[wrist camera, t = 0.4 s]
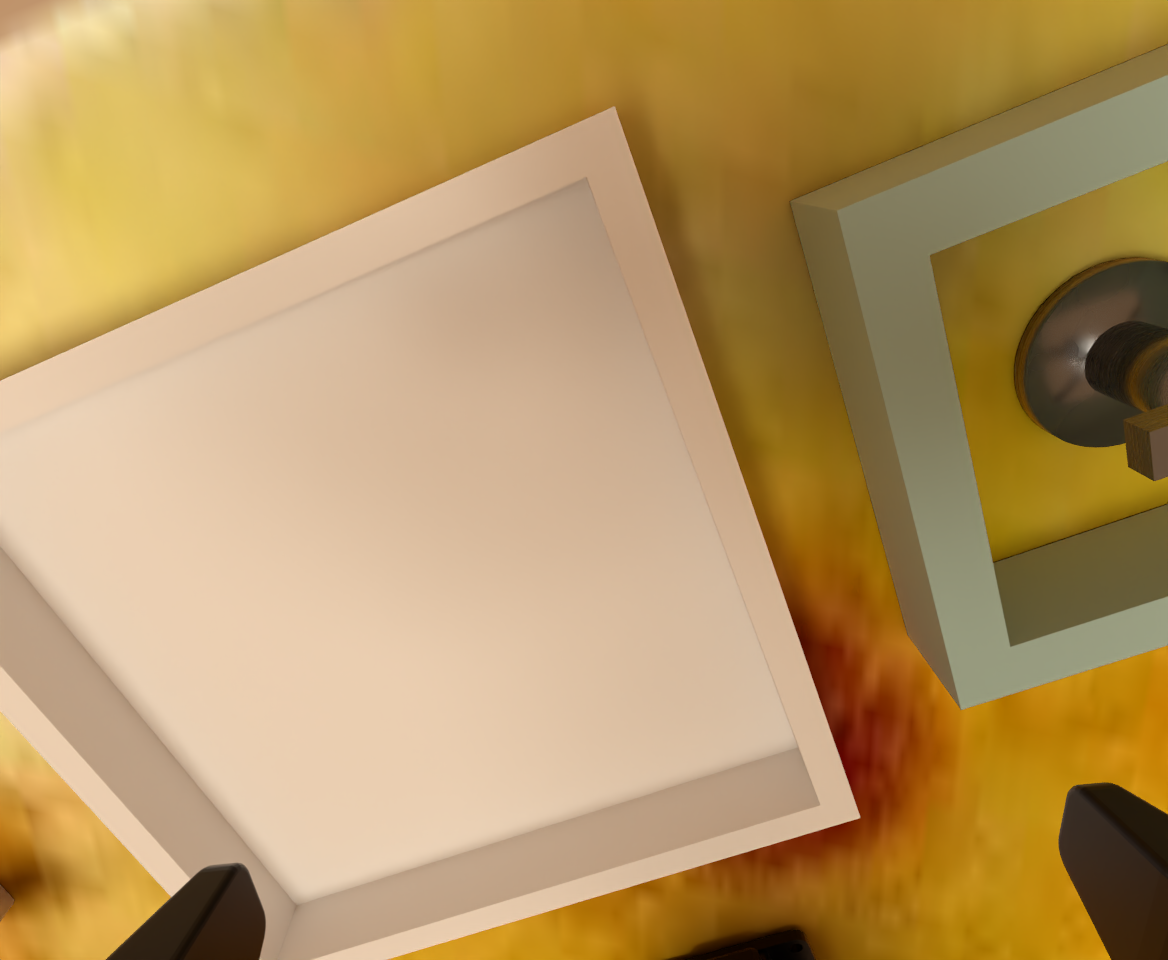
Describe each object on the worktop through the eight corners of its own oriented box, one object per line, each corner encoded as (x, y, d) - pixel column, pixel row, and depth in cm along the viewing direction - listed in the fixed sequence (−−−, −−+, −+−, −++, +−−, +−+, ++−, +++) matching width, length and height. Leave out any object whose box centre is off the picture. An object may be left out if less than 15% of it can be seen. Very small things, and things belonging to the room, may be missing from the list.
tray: (828, 746, 25) (860, 817, 23) (292, 914, 28) (262, 996, 25) (606, 114, 18) (614, 105, 15) (-110, 433, 20) (-216, 477, 18)
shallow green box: (1375, 481, 22) (1514, 536, 19) (907, 634, 24) (961, 710, 20) (1393, -50, 17) (1592, -100, 13) (789, 201, 18) (836, 210, 15)
